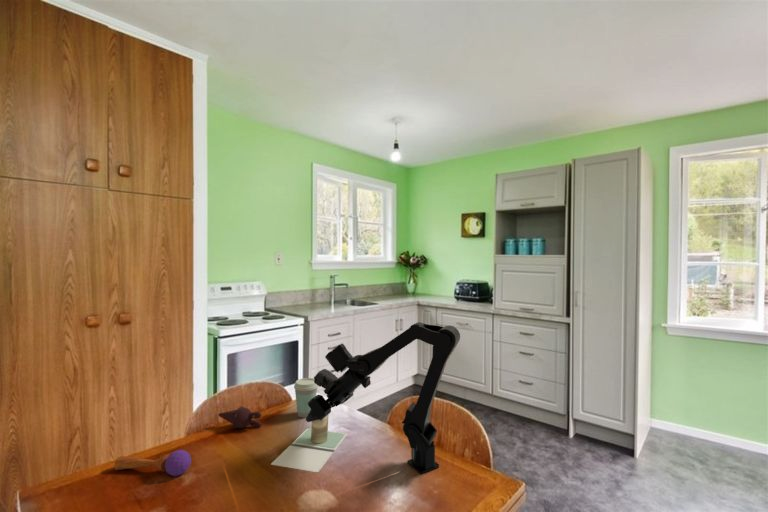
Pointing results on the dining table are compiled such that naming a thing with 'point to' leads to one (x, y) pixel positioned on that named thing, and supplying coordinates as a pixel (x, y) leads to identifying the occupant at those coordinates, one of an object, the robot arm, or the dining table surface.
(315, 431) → the wooden pin
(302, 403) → the coffee cup
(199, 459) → the dining table surface
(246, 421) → the icecream
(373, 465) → the dining table surface
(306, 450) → the board
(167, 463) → the kendama
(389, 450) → the dining table surface
